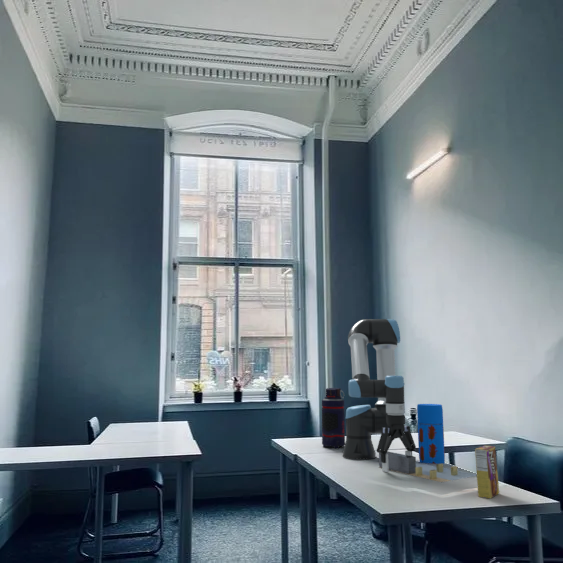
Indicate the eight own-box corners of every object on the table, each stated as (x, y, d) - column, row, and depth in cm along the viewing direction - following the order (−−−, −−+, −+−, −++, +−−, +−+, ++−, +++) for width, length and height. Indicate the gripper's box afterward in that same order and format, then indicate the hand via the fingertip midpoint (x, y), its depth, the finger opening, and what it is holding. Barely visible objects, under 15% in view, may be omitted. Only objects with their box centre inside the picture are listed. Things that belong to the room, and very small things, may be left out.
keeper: (415, 475, 197) (415, 467, 198) (440, 471, 205) (440, 463, 206) (432, 479, 191) (432, 470, 191) (457, 474, 199) (457, 466, 199)
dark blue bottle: (338, 449, 263) (337, 388, 268) (318, 447, 269) (317, 388, 274) (350, 445, 275) (349, 387, 279) (330, 443, 281) (329, 387, 286)
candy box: (486, 491, 176) (483, 445, 179) (499, 493, 174) (496, 446, 176) (476, 496, 170) (474, 448, 172) (490, 499, 167) (487, 449, 169)
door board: (378, 470, 212) (378, 467, 212) (415, 464, 224) (415, 461, 224) (442, 485, 186) (442, 482, 186) (480, 477, 198) (480, 475, 198)
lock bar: (379, 467, 213) (378, 452, 214) (386, 466, 215) (385, 451, 216) (409, 474, 200) (408, 457, 200) (416, 473, 202) (415, 456, 203)
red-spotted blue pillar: (446, 466, 219) (443, 405, 223) (420, 465, 222) (417, 405, 225) (443, 462, 230) (441, 404, 234) (418, 461, 232) (416, 403, 236)
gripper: (380, 416, 201) (381, 474, 197) (423, 413, 214) (425, 467, 211) (366, 415, 207) (368, 471, 203) (409, 412, 220) (411, 464, 217)
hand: (397, 469), depth 207 cm, fingers open, 12 cm apart
